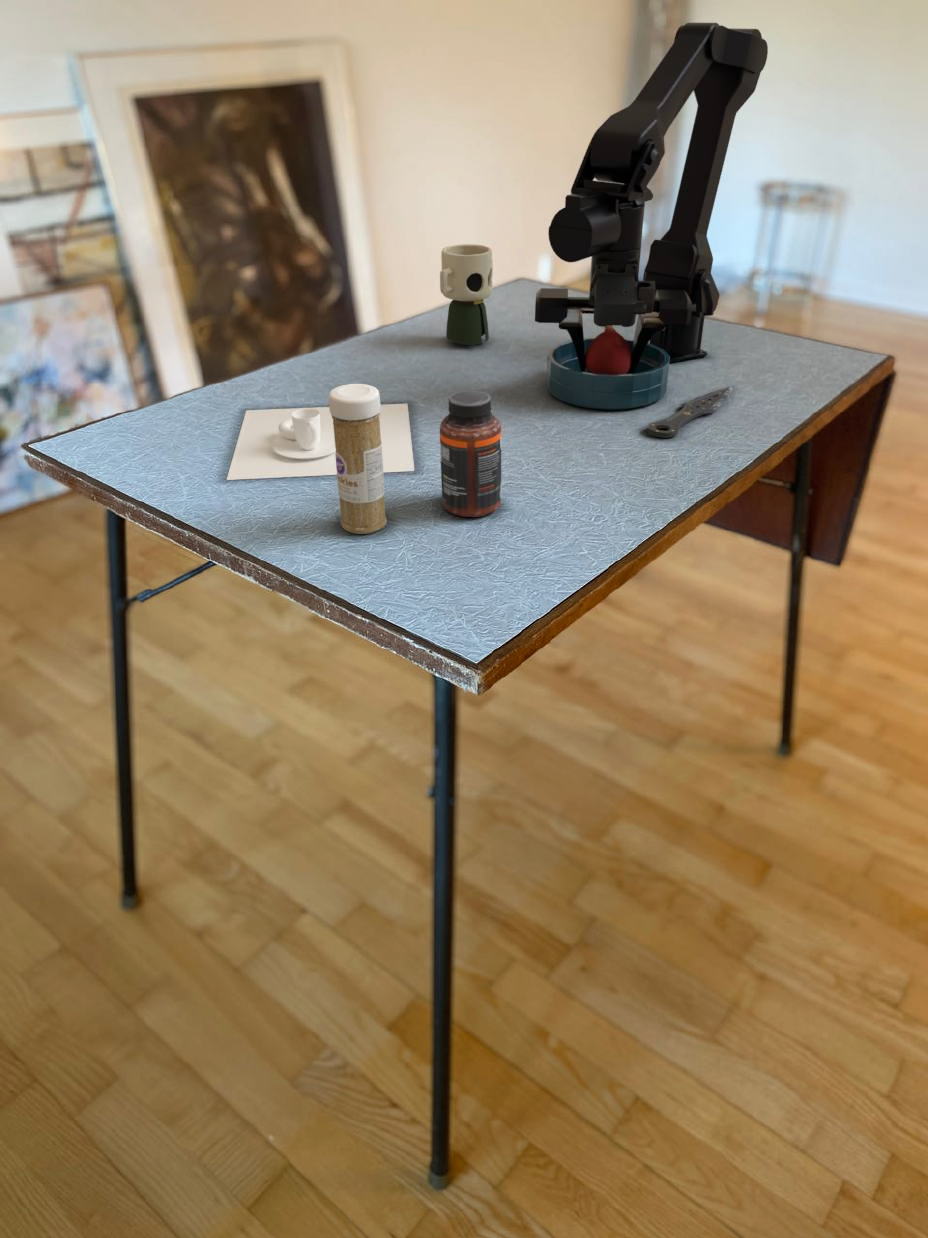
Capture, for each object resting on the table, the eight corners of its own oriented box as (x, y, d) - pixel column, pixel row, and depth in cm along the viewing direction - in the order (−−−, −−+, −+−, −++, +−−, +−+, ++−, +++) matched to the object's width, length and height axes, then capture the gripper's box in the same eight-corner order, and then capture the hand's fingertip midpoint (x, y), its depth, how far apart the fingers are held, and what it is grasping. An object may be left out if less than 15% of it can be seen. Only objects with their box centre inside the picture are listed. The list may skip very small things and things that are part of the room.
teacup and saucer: (276, 432, 110) (271, 399, 107) (344, 429, 110) (341, 396, 108) (269, 464, 102) (265, 428, 100) (342, 460, 103) (339, 425, 101)
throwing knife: (638, 431, 108) (638, 426, 108) (718, 384, 121) (718, 379, 121) (671, 440, 106) (672, 435, 106) (749, 391, 119) (750, 386, 118)
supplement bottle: (510, 499, 95) (512, 391, 88) (486, 524, 90) (487, 412, 84) (457, 488, 97) (455, 382, 90) (431, 513, 92) (427, 403, 86)
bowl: (623, 363, 129) (626, 331, 126) (689, 399, 117) (694, 364, 115) (525, 380, 123) (526, 347, 121) (585, 420, 112) (587, 383, 109)
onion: (627, 379, 122) (633, 318, 118) (629, 395, 117) (635, 331, 113) (583, 378, 123) (586, 317, 118) (583, 394, 118) (587, 330, 113)
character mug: (461, 356, 132) (460, 260, 125) (424, 346, 136) (421, 252, 129) (509, 337, 139) (511, 245, 132) (473, 328, 143) (472, 239, 135)
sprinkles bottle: (331, 526, 90) (317, 392, 83) (364, 509, 93) (354, 378, 86) (364, 540, 88) (353, 403, 80) (398, 523, 91) (390, 389, 83)
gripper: (535, 261, 105) (531, 395, 113) (705, 263, 103) (687, 399, 112) (538, 239, 114) (534, 365, 122) (693, 240, 112) (678, 368, 121)
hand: (606, 374), depth 119 cm, fingers closed on onion, 6 cm apart
